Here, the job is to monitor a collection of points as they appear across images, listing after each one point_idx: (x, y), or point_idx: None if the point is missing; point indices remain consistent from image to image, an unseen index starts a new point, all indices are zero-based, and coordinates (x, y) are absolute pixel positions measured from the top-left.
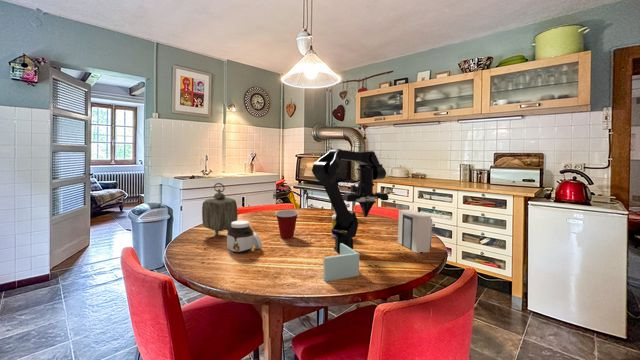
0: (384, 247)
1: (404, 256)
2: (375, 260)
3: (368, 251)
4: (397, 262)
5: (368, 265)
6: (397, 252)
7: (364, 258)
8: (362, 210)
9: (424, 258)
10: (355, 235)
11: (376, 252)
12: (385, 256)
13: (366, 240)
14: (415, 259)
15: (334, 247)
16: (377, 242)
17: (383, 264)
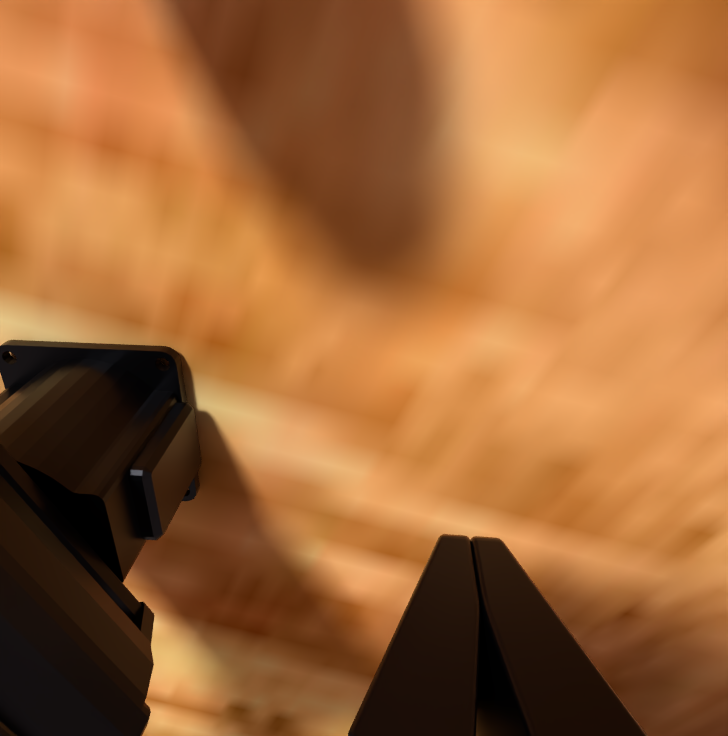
0: (599, 450)
1: (599, 670)
2: (317, 665)
3: (356, 503)
4: None
5: (229, 709)
6: (616, 593)
7: (248, 618)
8: (367, 713)
9: (717, 733)
10: (152, 621)
11: (420, 543)
12: None
13: (561, 113)
14: None
15: (5, 352)
16: (656, 257)
17: (338, 723)
